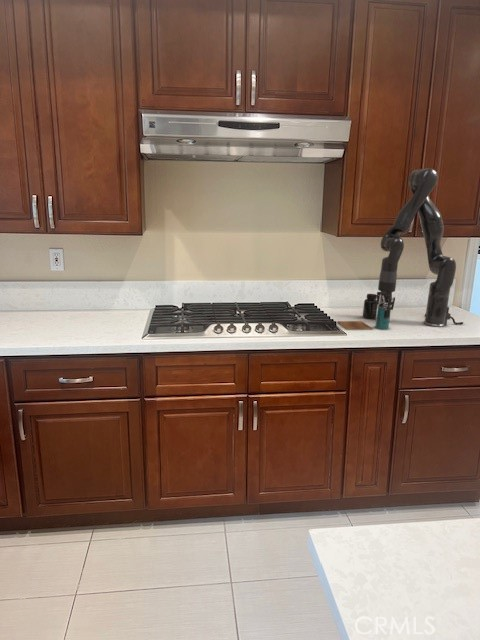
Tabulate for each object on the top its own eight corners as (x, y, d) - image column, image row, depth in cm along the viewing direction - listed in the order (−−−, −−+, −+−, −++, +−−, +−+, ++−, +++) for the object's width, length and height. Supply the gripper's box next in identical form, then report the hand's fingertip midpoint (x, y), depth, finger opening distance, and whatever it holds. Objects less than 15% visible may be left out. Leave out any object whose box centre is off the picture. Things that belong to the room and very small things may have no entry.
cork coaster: (361, 322, 226) (361, 321, 226) (371, 329, 214) (371, 327, 214) (337, 322, 224) (337, 321, 224) (346, 329, 213) (347, 328, 212)
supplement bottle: (376, 319, 232) (379, 296, 229) (362, 318, 233) (365, 295, 230) (375, 316, 238) (378, 293, 235) (362, 315, 240) (364, 292, 237)
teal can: (385, 326, 220) (387, 305, 218) (390, 329, 215) (393, 308, 212) (373, 326, 220) (375, 305, 217) (378, 329, 214) (381, 308, 211)
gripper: (403, 283, 205) (398, 320, 210) (388, 278, 219) (384, 312, 223) (387, 283, 204) (382, 320, 208) (373, 277, 218) (369, 312, 222)
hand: (383, 316), depth 216 cm, fingers closed on teal can, 5 cm apart
